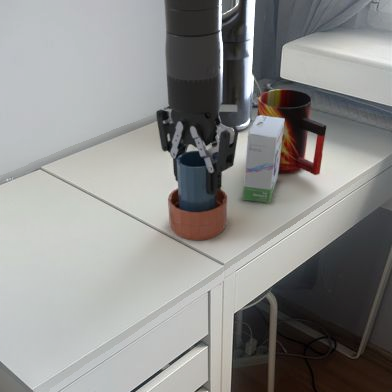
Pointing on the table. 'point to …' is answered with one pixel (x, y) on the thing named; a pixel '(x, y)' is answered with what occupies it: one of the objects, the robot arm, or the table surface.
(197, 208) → the cup
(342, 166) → the table surface
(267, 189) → the ink box
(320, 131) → the mug
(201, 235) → the bowl
